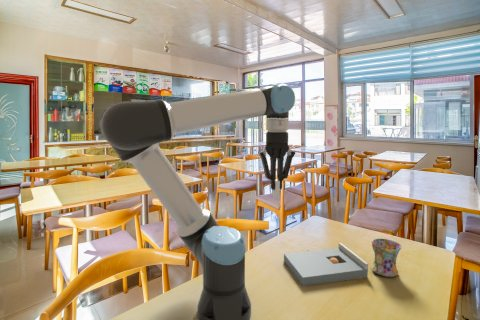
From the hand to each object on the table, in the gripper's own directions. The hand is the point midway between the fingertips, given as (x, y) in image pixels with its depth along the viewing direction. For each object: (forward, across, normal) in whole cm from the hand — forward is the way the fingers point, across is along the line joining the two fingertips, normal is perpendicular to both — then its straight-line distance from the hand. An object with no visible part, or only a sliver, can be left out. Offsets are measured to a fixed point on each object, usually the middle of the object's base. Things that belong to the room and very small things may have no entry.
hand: (276, 198), depth 103 cm
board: (+26, +17, -4) cm, 32 cm away
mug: (+27, +37, -10) cm, 47 cm away
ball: (+26, +20, -4) cm, 33 cm away
